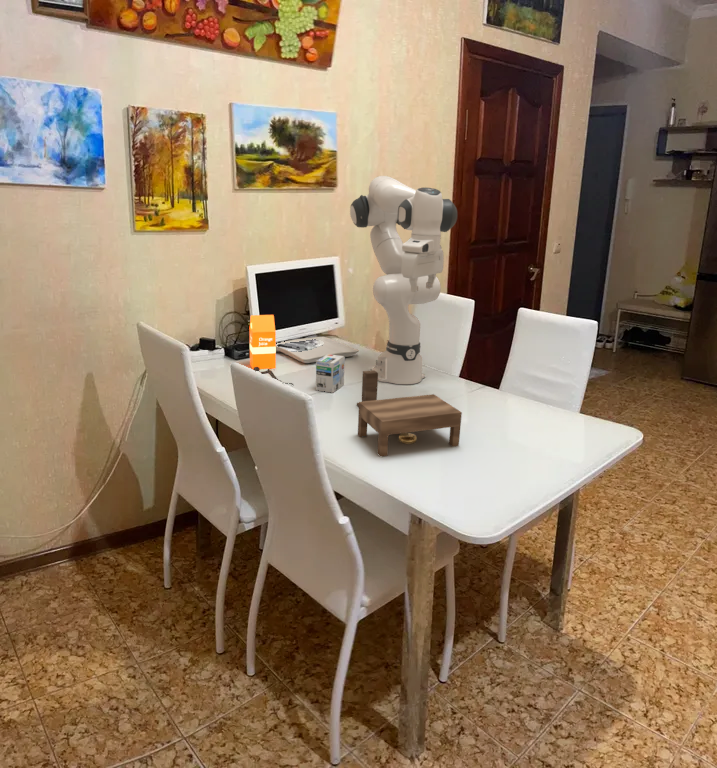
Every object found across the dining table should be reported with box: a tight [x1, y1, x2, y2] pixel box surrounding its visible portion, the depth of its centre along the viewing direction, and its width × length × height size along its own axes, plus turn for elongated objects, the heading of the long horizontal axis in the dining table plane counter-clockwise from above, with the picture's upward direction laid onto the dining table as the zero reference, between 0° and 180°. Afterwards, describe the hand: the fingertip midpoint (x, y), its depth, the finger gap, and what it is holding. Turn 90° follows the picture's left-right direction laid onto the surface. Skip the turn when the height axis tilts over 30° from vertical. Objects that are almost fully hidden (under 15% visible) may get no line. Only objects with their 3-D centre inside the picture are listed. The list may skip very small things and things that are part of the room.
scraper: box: [356, 370, 379, 408], centre depth 195 cm, size 24×7×12 cm, turn 22°
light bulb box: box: [315, 354, 346, 393], centre depth 222 cm, size 11×7×11 cm, turn 160°
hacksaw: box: [253, 367, 294, 386], centre depth 233 cm, size 24×10×2 cm, turn 19°
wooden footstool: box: [357, 393, 463, 457], centre depth 179 cm, size 16×24×10 cm, turn 112°
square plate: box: [276, 336, 360, 364], centre depth 265 cm, size 27×27×4 cm
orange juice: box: [248, 314, 277, 370], centre depth 243 cm, size 8×9×20 cm
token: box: [398, 432, 417, 445], centre depth 181 cm, size 5×5×2 cm
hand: (421, 290), depth 196 cm, fingers open, 8 cm apart
